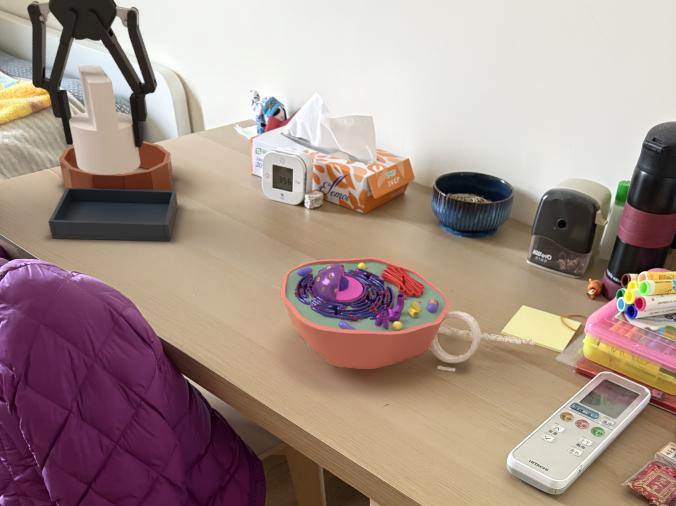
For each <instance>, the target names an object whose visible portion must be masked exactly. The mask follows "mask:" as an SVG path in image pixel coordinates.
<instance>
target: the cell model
mask: <svg viewBox="0 0 676 506" xmlns="http://www.w3.org/2000/svg"><path fill="white" fill-rule="evenodd" d="M280 298H281V301H282V302H283V305H284V306H285V309H286V311H287V313H288V316H289V320H290V322H291V324H292V325H293V328H294V330H295V331H296V333H297V334H298V335H299V336H300V337H301V339H302V340H303V341H304V342H305V343H306V345H308V346H309V347H310V348H311V349H312V350H313V351H314V352H315V353H316V354H318V356H320V357H321V358H322V359H323V360H324V361H326V362H327V363H328V364H330V365H332V366H334V367H337V368H345V369H361V370H374V369H380V368H384V367H387V366H390V365H391V366H392V365H395V364H398V363H402V362H405V361H409V360H412V359H414V358H416V357H419V356H420V355H423V354H424V353H426V352H427V351H428V350H429V349H430V346H431V345H432V343H433V341H434V338H435V336H436V334H437V332H438V330H439V327H441V326H442V324H443V323H442V321H443V319H444V317H445V315H446V314H447V313H448V312H449V309H450V307H451V301H450V299H449V296H447V295H446V294H445V293H444V292H443V291H442V290H440V289H439V288H438V287H437V286H436V285H434V284H433V283H432V282H431V281H430V280H428V279H427V278H426V277H425V276H424V275H422V274H421V273H420V272H418V271H416V270H415V269H412V268H410V267H407V266H404V265H401V264H399V263H396V262H393V261H390V260H388V259H384V258H379V257H374V256H373V257H372V256H370V257H369V256H368V257H356V258H354V257H353V258H336V259H335V258H326V259H325V258H324V259H318V260H311V261H308V262H304V263H302V264H299V265H297V266H295V267H293V268H290V270H288V271H287V272H286V273H285V274H284V275H283V278H282V281H281V286H280ZM441 323H442V324H441ZM438 333H439V332H438ZM437 335H438V334H437Z"/></svg>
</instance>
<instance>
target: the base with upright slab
mask: <svg viewBox="0 0 676 506" xmlns="http://www.w3.org/2000/svg"><path fill="white" fill-rule="evenodd" d="M77 70H78V71H77V72H78V76H79V82H80V87H81V93H82V98H83V103H84V109H85V112H80V113H77V114H75V115H73V116H72V117H71V118H70V119H69V124H70V129H71V134H72V140H73V144H72V146H74V150H75V155H76V160H77V165H78V167H79V168H80V169H81V170H83V171H85V172H88V173H93V174H100V175H115V174H125V173H131V172H132V171H133V172H134V171H135V170H137V169H138V168H140V167H139V166H140V157H139V150H138V147H136V144H135V137H134V129H133V122H132V115H129V114H128V113H124V112H120V111H117V107H116V100H115V94H114V87H113V81H112V80H111V78H110V77H109V76H108V75H107V73H106V72H105V70H104V68H102V66H101V65H100V64H86V65H78V66H77Z"/></svg>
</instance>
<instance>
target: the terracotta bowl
mask: <svg viewBox="0 0 676 506" xmlns="http://www.w3.org/2000/svg"><path fill="white" fill-rule="evenodd" d="M138 150H139V157H140V166H139V167H138V168H143V169H145V170H138V171H133V172H132V171H131V172H127V173H122V174H115V175H100V174H93V173H88V172H85V171H83V170H81V169H80V168H79V167H78V165H77V160H76V155H75V150H74V145H71V146H69V147H67V148H65V149H64V150H63V151H62V153H61V155H60V156H59V158H58V161H59V166H60V171H61V176H62V180H63V184H64V187H65V188H66V187H70V188H71V187H72V188H102V189H133V190H163V191H171V189H172V186H173V182H174V173H173V166H172V164H173V163H172V157H171V156H172V155H171V152H170V151H168V150H166V149H165V148H164V147H162V146H161V145H160V144H159V143H153V142H150V141H145V140H143V144H142V147H138Z"/></svg>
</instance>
